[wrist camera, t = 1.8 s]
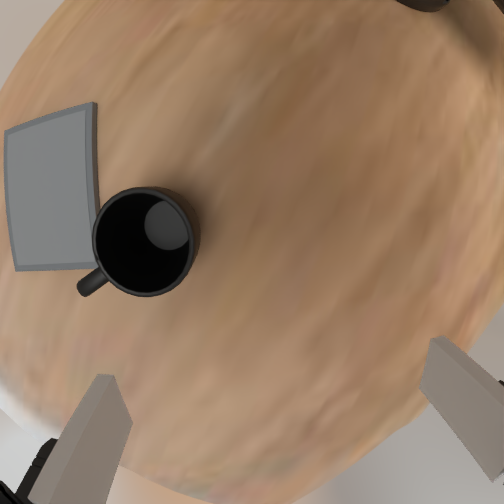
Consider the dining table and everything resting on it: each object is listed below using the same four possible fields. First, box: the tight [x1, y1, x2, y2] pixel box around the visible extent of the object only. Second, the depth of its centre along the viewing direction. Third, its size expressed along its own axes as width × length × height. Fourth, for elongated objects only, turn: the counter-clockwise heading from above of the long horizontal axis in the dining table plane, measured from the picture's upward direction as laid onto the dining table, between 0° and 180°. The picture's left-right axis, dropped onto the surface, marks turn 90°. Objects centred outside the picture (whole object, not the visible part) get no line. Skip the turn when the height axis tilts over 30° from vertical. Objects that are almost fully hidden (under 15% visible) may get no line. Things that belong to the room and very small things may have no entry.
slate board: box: [4, 102, 100, 272], centre depth 27 cm, size 18×14×1 cm
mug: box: [77, 187, 200, 297], centre depth 25 cm, size 8×12×10 cm
